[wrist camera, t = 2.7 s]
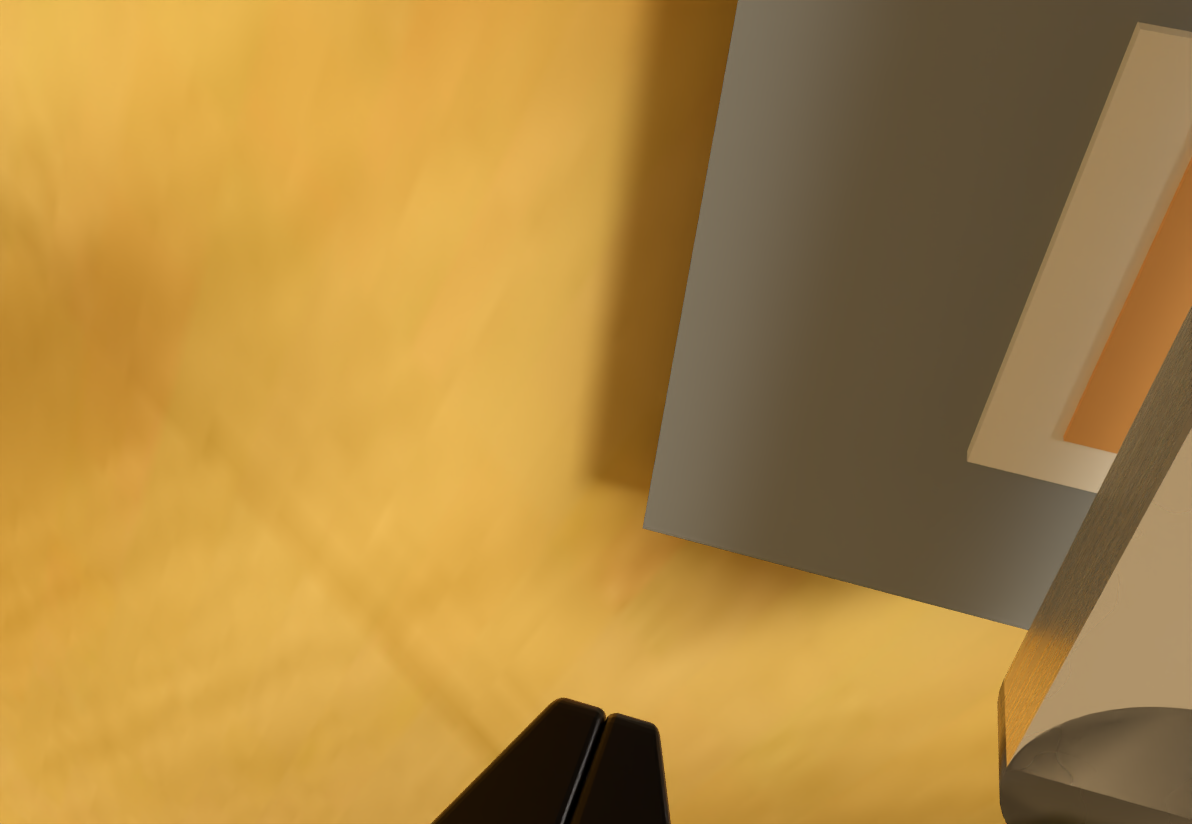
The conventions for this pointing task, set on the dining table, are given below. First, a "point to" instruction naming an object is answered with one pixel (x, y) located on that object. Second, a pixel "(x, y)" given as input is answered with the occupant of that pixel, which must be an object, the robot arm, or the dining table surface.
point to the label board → (928, 287)
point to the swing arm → (1114, 641)
